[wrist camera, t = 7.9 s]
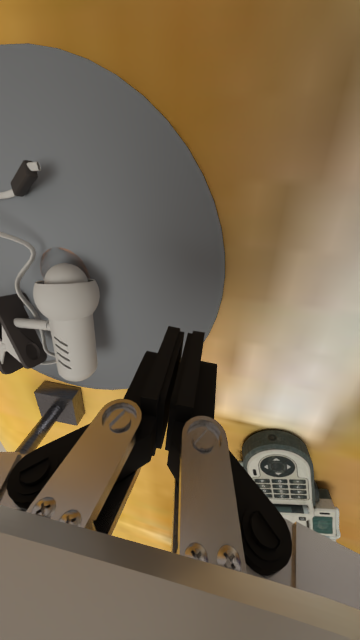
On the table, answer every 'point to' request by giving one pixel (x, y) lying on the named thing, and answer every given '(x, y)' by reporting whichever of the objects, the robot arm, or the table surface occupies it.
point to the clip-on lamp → (48, 310)
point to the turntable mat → (105, 207)
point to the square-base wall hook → (53, 411)
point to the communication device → (290, 480)
